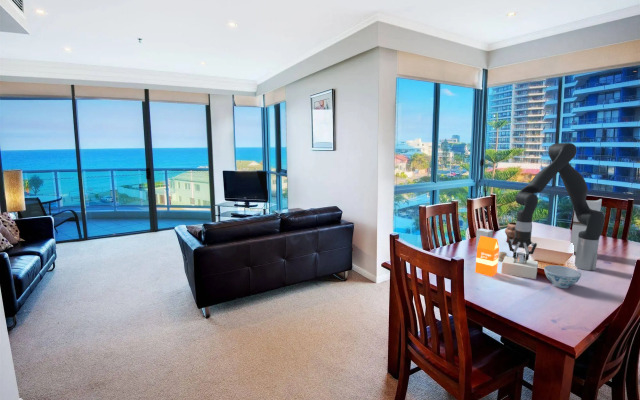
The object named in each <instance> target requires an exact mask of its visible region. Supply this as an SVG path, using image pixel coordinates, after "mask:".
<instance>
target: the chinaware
mask: <svg viewBox="0 0 640 400" xmlns="http://www.w3.org/2000/svg"><path fill="white" fill-rule="evenodd" d="M543 270H544V274H545V276H546V278H547V280H548V281H550V282H551V283H552V284H551V285H552V286H554V287H556V288H561V289H569V287H572V286H573V285H575V284H576V283H578V282H579V280H580V279H581V276H582V273H581V271H578V270H577V269H575V268H572V267H569V266H568V267H567V266H563V265H556V264H555V265H545V266H544V268H543Z"/></svg>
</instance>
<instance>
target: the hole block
mask: <svg viewBox="0 0 640 400" xmlns="http://www.w3.org/2000/svg"><path fill="white" fill-rule="evenodd" d="M501 263H502V264H501V271H500V272H501V274H506V275H510V276H511V275H512V276H517V277H521V278H527V279H533V280H536V279H537V273H538V265H539V261H536V260H531V259H528V260H527V261H525V264H519V263H516V259H514V258H513V256H505V257H504V260H503V262H501Z"/></svg>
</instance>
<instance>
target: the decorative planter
mask: <svg viewBox="0 0 640 400" xmlns="http://www.w3.org/2000/svg"><path fill="white" fill-rule="evenodd" d="M515 227H516V222H508V223H507V227H505V230H504V233H505V235H506V243H507V244H508V240H509V239H510V240H513V239H514V238H515ZM513 245H514V246H516V244H515V243H514V242H513V243H512V246H513Z"/></svg>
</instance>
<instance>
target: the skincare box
mask: <svg viewBox="0 0 640 400" xmlns="http://www.w3.org/2000/svg"><path fill="white" fill-rule="evenodd" d="M475 235H476V238H475V241H476V242H475V252H477V246H478V243H479V240H480V237H481V236H484V237H489V238H494V230H492V229H487V228H482V227H481V228H478V229H476V234H475Z"/></svg>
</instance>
